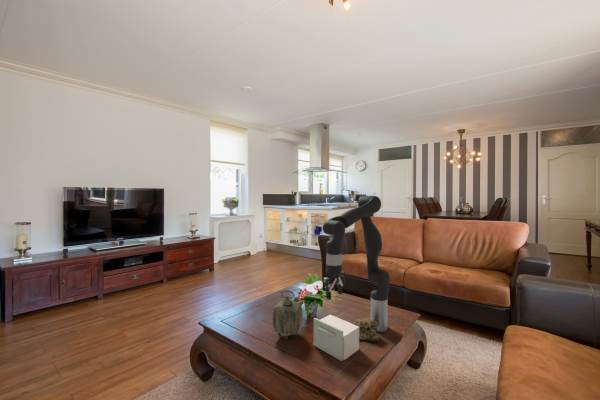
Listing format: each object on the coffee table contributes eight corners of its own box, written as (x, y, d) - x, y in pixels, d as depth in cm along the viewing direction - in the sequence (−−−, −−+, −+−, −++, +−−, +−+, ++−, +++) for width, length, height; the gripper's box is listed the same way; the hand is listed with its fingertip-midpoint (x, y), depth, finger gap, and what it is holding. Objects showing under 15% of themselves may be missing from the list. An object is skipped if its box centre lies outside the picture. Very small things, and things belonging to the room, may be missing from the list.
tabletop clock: (302, 335, 147) (302, 289, 146) (298, 344, 138) (298, 295, 137) (276, 331, 151) (276, 286, 149) (271, 340, 142) (271, 292, 141)
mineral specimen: (350, 343, 139) (350, 324, 139) (349, 330, 152) (349, 313, 152) (380, 345, 138) (380, 326, 137) (375, 332, 150) (376, 314, 150)
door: (314, 344, 137) (314, 317, 136) (342, 359, 124) (343, 330, 124) (311, 346, 135) (311, 319, 134) (339, 362, 123) (340, 332, 122)
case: (330, 336, 146) (330, 314, 145) (359, 351, 133) (359, 326, 132) (314, 345, 137) (314, 322, 137) (344, 362, 124) (344, 336, 124)
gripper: (337, 258, 137) (337, 290, 138) (318, 264, 127) (318, 298, 128) (349, 261, 132) (349, 294, 133) (330, 267, 122) (331, 303, 123)
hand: (334, 296), depth 130 cm, fingers open, 8 cm apart
